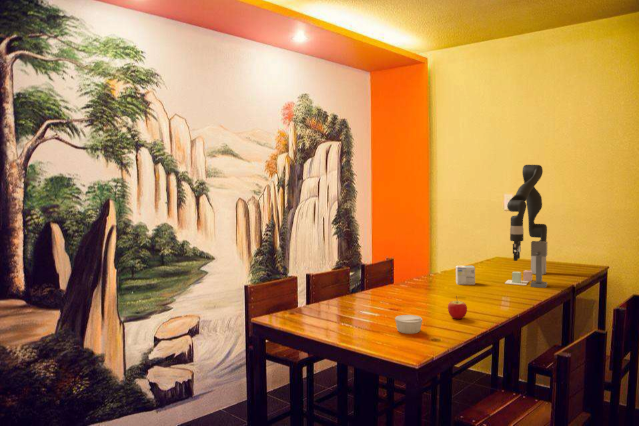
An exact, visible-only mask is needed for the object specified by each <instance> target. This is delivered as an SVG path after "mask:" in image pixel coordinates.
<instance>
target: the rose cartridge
mask: <svg viewBox="0 0 639 426" xmlns="http://www.w3.org/2000/svg"><path fill="white" fill-rule="evenodd" d="M522 277H523V280H522V281H529V282H530V281H531V282H532V281H533V274H532V271H531V270H526V269H525V270H523V276H522Z"/></svg>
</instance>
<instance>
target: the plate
mask: <svg viewBox="0 0 639 426" xmlns="http://www.w3.org/2000/svg"><path fill="white" fill-rule="evenodd" d="M529 282H530V281H523V280H521V283H512V279H507V280H506V281H505V282H504V284H505V285H515V286H516V285H519V286H527V285H528V283H529Z"/></svg>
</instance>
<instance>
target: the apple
mask: <svg viewBox="0 0 639 426" xmlns="http://www.w3.org/2000/svg"><path fill="white" fill-rule="evenodd" d="M455 297H456V299H458V297H457V295H456V296H455ZM467 306H468V305H467V304H466V302H464V301H460V300H451V301H450V302H448V304H447V311H448V314H449V316H450V317H451V318H453V319H455V320H460V319H463V318H465V316H466V315H467V313H468V307H467Z"/></svg>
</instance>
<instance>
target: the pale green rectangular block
mask: <svg viewBox="0 0 639 426" xmlns="http://www.w3.org/2000/svg"><path fill="white" fill-rule="evenodd" d="M511 276H512V277H511V280H512V283H521V281H522V272H521V271H512V273H511Z"/></svg>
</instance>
